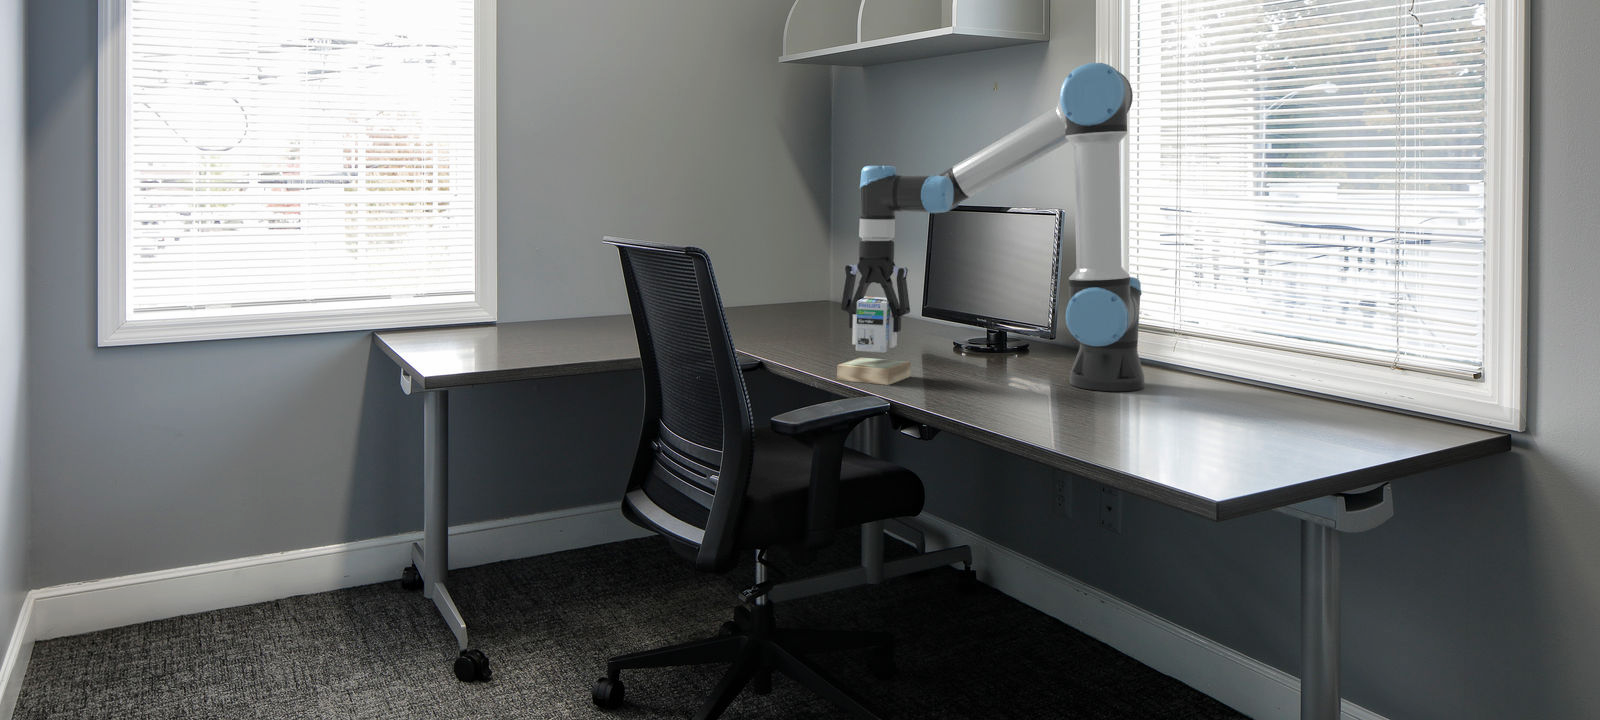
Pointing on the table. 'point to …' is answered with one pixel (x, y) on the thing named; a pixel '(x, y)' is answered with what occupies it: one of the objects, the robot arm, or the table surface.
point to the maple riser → (874, 371)
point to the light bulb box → (872, 324)
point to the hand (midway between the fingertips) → (874, 345)
